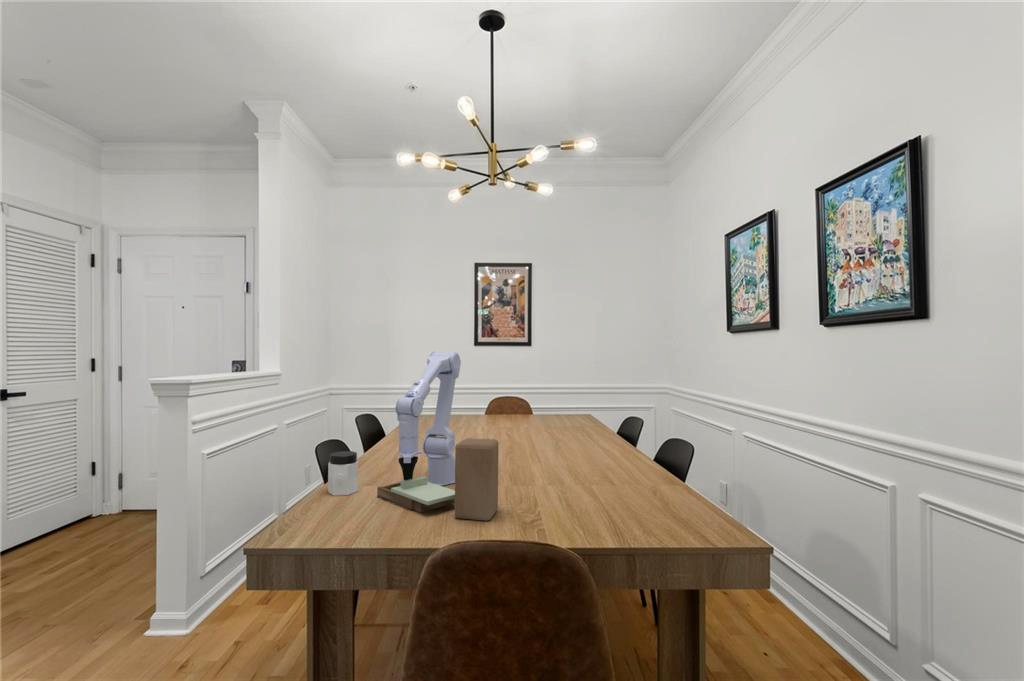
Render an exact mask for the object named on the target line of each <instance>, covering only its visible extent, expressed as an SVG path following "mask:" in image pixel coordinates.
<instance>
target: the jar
mask: <svg viewBox="0 0 1024 681" xmlns="http://www.w3.org/2000/svg"><path fill="white" fill-rule="evenodd" d="M327 468H328V469H327V470H328V471H327V472H328V473H327V484H328V485H327V492H328V493H329V494H330V495H332V496H335V497H336V496H339V497H340V496H349V495H352V494H354V493H355V494H356V493H357V492H358V491H359V490H358V489H359V488H358V487H359V485H358V484H359V482H358V481H359V461H358V453H357V452H356V451H353V450H352V451H351V450H348V451H347V450H343V451H342V450H341V451H335V452H332V453H330V454H329V462H328V467H327Z"/></svg>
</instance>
